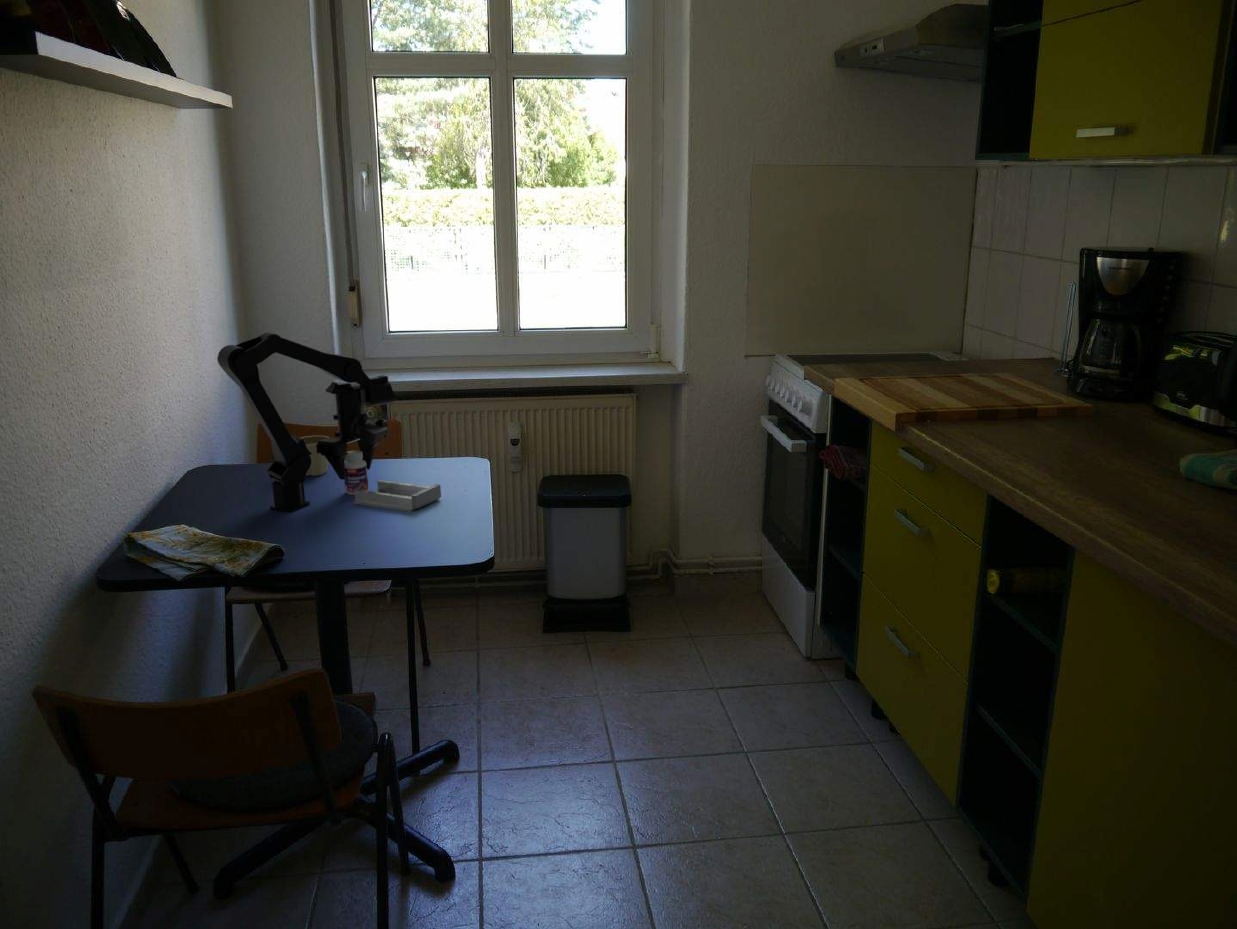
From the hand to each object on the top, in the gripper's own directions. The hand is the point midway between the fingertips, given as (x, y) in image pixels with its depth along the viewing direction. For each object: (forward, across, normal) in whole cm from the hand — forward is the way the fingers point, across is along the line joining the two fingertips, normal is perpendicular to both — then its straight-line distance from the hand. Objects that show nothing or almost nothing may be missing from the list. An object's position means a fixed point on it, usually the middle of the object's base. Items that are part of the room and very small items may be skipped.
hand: (355, 474), depth 244 cm
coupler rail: (+4, -2, -13) cm, 14 cm away
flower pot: (+5, +9, +21) cm, 23 cm away
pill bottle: (+5, 0, 0) cm, 5 cm away
